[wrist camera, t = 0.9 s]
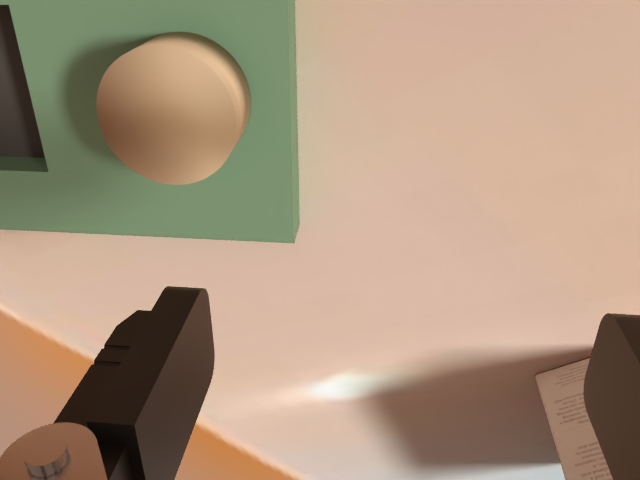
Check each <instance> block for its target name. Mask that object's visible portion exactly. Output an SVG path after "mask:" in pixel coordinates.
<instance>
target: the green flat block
mask: <svg viewBox="0 0 640 480" xmlns="http://www.w3.org/2000/svg"><path fill="white" fill-rule="evenodd" d="M170 32H191V33H195V34H199V35H202V36H205V37H207V38H209V39H211V40H213V41H215V42H216V43H218V44H219V45H221V46H222V47H223V48H224V49H226V50H227V51H228V52H229V53H230V54H231V55H232V56H233V57H234V59H235V60H236V61H237V63H238V64H239V65H240V67H241V69H242V70H243V72H244V74H245V76H246V79H247V82H248V85H249V88H250V93H251V114H250V119H249V122H248V125H247V127H246V130H245V132H244V133H243V135H242V136H241V138H240V139H239V141H238V143H237V144H236V146H235V147H234V149H233V150H232V152H231V153H230V155H229V156H228V158H227V160H226V161H225V163H224V164H223V165H222V166H221V167H220V168H219V169H218V170H217V171H216V172H215V173H213V174H212V175H210V176H209V177H207V178H205V179H203V180H201V181H198V182H195V183H191V184H185V185H170V184H163V183H159V182H155V181H152V180H150V179H147V178H145V177H143V176H141V175H139V174H138V173H136V172H134V171H133V170H131V169H130V168H129V167H128V166H126V165H125V164H124V163H123V162H122V161H121V160H120V159H119V158H118V157H117V156H116V155H115V153H114V152H113V151H112V150H111V148H110V147H109V145H108V144H107V142H106V140H105V138H104V136H103V134H102V131H101V128H100V126H99V122H98V118H97V110H96V99H97V92H98V88H99V85H100V82H101V80H102V77H103V75H104V74H105V72H106V71H107V69H108V68H109V66H110V65H111V64H112V63H113V62H114V61H115V60H117V59H118V58H119V57H120V56H122V55H124V54H125V53H127V52H129V51H131V50H133V49H134V48H136V47H138V46H140V45H142V44H143V43H145V42H147V41H149V40H151V39H153V38H154V37H156V36H159V35H162V34H165V33H170ZM298 228H299V181H298V133H297V86H296V38H295V0H0V229H6V230H27V231H48V232H69V233H90V234H111V235H132V236H153V237H174V238H195V239H216V240H237V241H258V242H279V243H294V242H295V238H296V235H297V231H298Z"/></svg>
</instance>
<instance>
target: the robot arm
mask: <svg viewBox="0 0 640 480" xmlns="http://www.w3.org/2000/svg"><path fill="white" fill-rule="evenodd" d="M213 369H214V343H213V333H212V324H211V314H210V305H209V297H208V293H207V291H206V289H204V288H187V287H170V286H168V287H166V288H165V289H164V290H163V292H162V293H161V295H160V297H159V299H158V300H157V302H156V304H155V305H154V307H153V309H152V311H142V310H137V311H136V312H135V313H133V314H132V315H131V316H129V317H128V318H127V319H125V320H124V321H123V322H121V323H120V324H119V325H117V326H116V328H115V329H114V331H113V332H112V334H111V336H110V337H109V339H108V340H107V342H106V343H105V347H104V349H101V351H100V353H99V354H98V356H97V357H96V359H95V360H94V365H91V367H90V368H89V370H88V371H87V373H86V374H85V376H84V377H83V379H82V380H81V382H80V383H79V385H78V387H77V388H76V389H75V391H74V393H73V394H72V396H71V397H70V399H69V400H68V402H67V404H66V405H65V407H64V408H63V410H62V411H61V413H60V414H59V416H58V417H57V419H56V420H55V422H54V423H53V424H49V425H45V426H42V427H39V428H37V429H34V430H32V431H30V432H28V433H26V434H25V435H23V436H22V437H20V438H18V439H17V440H16V441H15V442H14V443H12V444H11V445H10V446H9V447H8V448H7V449H6V450H5V452H4V453H3V455H2V456H1V457H0V480H174V479H175V476H176V473H177V471H178V468H179V465H180V463H181V460H182V457H183V455H184V452H185V449H186V446H187V444H188V441H189V439H190V436H191V433H192V431H193V428H194V425H195V423H196V420H197V417H198V415H199V412H200V409H201V407H202V404H203V401H204V399H205V396H206V393H207V391H208V388H209V385H210V383H211V379H212V375H213ZM584 403H585V408H586V411H587V414H588V417H589V419H590V422H591V424H592V427H593V429H594V432H595V434H596V437H597V440H598V442H599V445H600V447H601V450H602V452H603V455H604V457H605V460H606V463H607V465H608V468H609V470H610V473H611V475H612V478H613V480H640V315H626V314H609V313H608V314H606V315H604V317H603V318H602V320H601V323H600V326H599V329H598V333H597V336H596V340H595V343H594V347H593V350H592V354H591V357H590V361H589V364H588V368H587V371H586V375H585V379H584Z"/></svg>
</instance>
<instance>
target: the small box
mask: <svg viewBox="0 0 640 480" xmlns="http://www.w3.org/2000/svg"><path fill="white" fill-rule="evenodd" d="M589 361H590V358H588V359H585V360H582V361H578V362H575V363H572V364H569V365H566V366H562V367H559V368H556V369H553V370H550V371H546V372H543V373H540V374H537V375H536V376H535V379H536V382H537V385H538V389H539V392H540V396H541V399H542V402H543V406H544V409H545V412H546V416H547V419H548V422H549V425H550V429H551V432H552V435H553V439H554V442H555V446H556V449H557V452H558V456H559V459H560V462H561V466H562V469H563V473H564V476H565V479H566V480H613V478H612V475H611V473H610V470H609V468H608V465H607V463H606V460H605V457H604V455H603V452H602V450H601V447H600V445H599V442H598V440H597V437H596V434H595V432H594V429H593V427H592V424H591V422H590V419H589V417H588V414H587V411H586V408H585V403H584V379H585V375H586V371H587V368H588V364H589Z"/></svg>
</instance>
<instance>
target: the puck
mask: <svg viewBox="0 0 640 480" xmlns="http://www.w3.org/2000/svg"><path fill="white" fill-rule="evenodd" d="M96 110H97V118H98V122H99V126H100V128H101V131H102V134H103V136H104V138H105V140H106V142H107V144H108V145H109V147H110V148H111V150H112V151H113V152H114V153H115V155H116V156H117V157H118V158H119V159H120V160H121V161H122V162H123V163H124V164H125V165H126V166H128V167H129V168H130V169H131V170H133V171H134V172H136V173H138V174H139V175H141V176H143V177H145V178H147V179H150V180H152V181H155V182H159V183H163V184H170V185H185V184H191V183H195V182H198V181H201V180H203V179H205V178H207V177H209V176H210V175H212V174H213V173H215V172H216V171H217V170H218V169H219V168H220V167H221V166H222V165H223V164H224V163H225V161H226V160H227V158H228V156H229V155H230V153H231V152H232V150H233V149H234V147H235V146H236V144H237V143H238V141H239V139H240V138H241V136H242V135H243V133H244V132H245V130H246V127H247V125H248V122H249V119H250V114H251V93H250V88H249V85H248V82H247V79H246V76H245V74H244V72H243V70H242V69H241V67H240V65H239V64H238V63H237V61H236V60H235V59H234V57H233V56H232V55H231V54H230V53H229V52H228V51H227V50H226V49H224V48H223V47H222V46H221V45H219V44H218V43H216V42H215V41H213V40H211V39H209V38H207V37H205V36H202V35H199V34H195V33H191V32H170V33H165V34H162V35H159V36H156V37H154V38H153V39H151V40H149V41H147V42H145V43H143V44H142V45H140V46H138V47H136V48H134V49H133V50H131V51H129V52H127V53H125V54H124V55H122V56H120V57H119V58H118V59H117V60H115V61H114V62H113V63H112V64H111V65H110V66H109V68H108V69H107V71H106V72H105V74H104V75H103V77H102V80H101V82H100V85H99V88H98V92H97V99H96Z"/></svg>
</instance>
